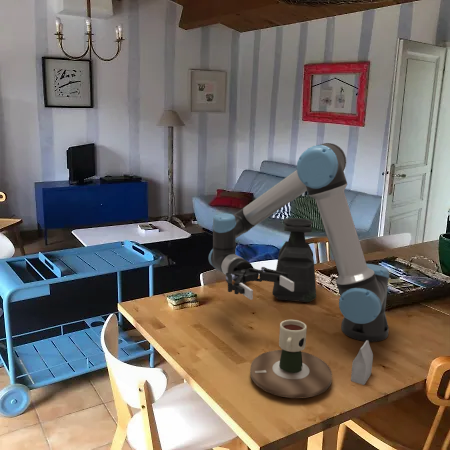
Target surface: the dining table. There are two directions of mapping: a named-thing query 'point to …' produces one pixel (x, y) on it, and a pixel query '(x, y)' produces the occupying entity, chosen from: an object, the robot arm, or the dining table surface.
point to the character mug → (292, 345)
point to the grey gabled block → (362, 365)
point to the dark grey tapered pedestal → (296, 263)
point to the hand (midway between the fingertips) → (272, 290)
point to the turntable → (291, 376)
